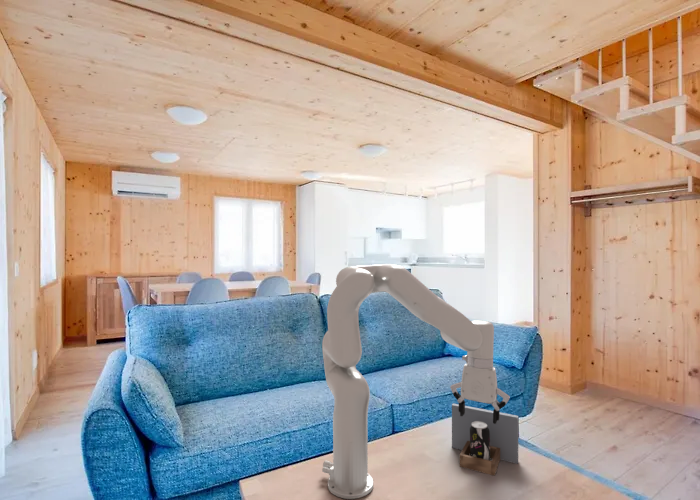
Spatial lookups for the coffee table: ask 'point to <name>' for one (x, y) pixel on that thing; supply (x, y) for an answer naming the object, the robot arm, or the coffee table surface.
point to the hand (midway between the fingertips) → (478, 418)
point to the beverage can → (480, 440)
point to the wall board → (500, 433)
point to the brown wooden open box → (480, 460)
